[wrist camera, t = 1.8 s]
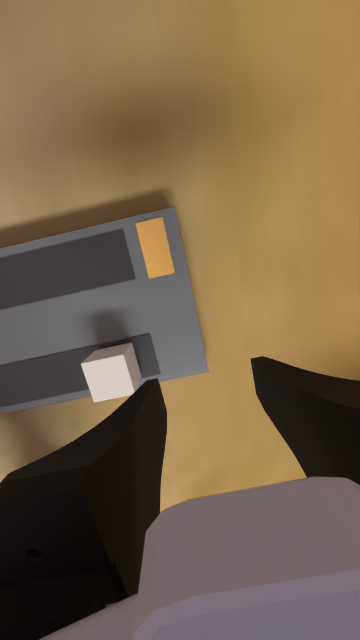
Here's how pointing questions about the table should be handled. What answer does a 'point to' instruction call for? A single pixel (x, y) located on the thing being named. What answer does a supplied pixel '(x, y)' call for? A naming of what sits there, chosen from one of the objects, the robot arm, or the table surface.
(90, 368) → the tab
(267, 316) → the table surface
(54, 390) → the switch board
